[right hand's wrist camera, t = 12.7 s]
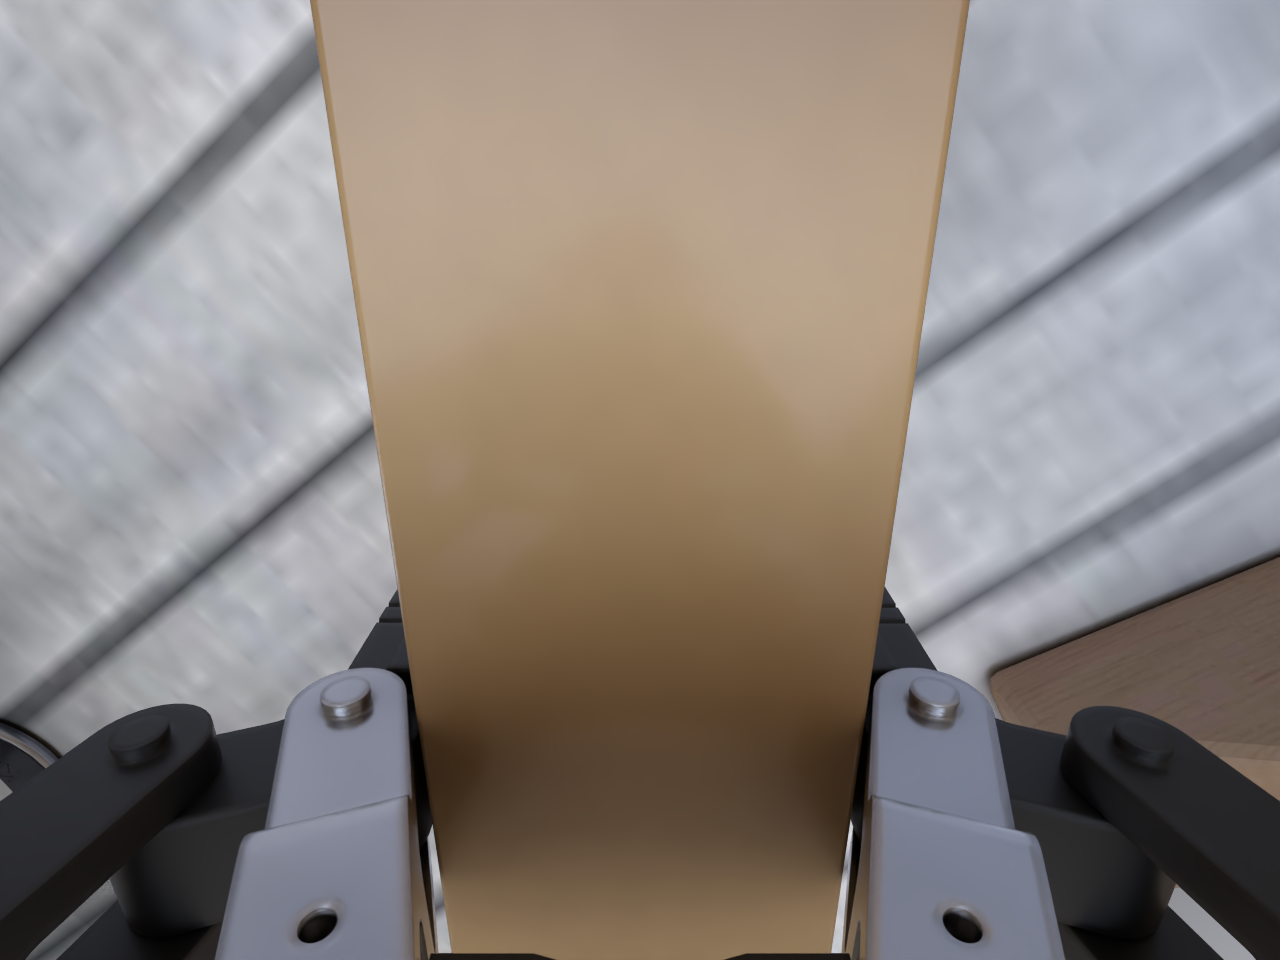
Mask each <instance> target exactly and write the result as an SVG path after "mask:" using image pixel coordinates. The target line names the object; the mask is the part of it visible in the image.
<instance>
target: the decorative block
mask: <svg viewBox="0 0 1280 960" xmlns="http://www.w3.org/2000/svg"><path fill="white" fill-rule="evenodd" d="M990 684H991V693H992V695H993V697H994V700H995V702H996V704H997V706H998V709H999V711H1000V713H1001V716H1002V718H1003V720H1004V721H1005V722H1008V723H1012V724H1016V725H1020V726H1025V727H1029V728H1034V729H1039V730H1043V731H1048V732H1052V733H1057V734H1062V735H1066V736H1067V733H1068V729H1069V726H1070V722H1071V720H1072V717H1073V716H1074V715H1075V714H1076V713H1077V712H1078V711H1080V710H1082V709H1085V708H1088V707H1093V706H1115V707H1122V708H1127V709H1131V710H1135V711H1138V712H1142V713H1145V714H1148V715H1150V716H1153V717H1156V718H1158V719H1160V720H1162V721H1164V722H1167V723H1168V724H1170V725H1172V726H1174V727H1176V728H1178V729H1179V730H1181V731H1182V732H1184V733H1185V734H1187V735H1188V736H1190V737H1191V738H1192V739H1194V740H1195V741H1197V742H1198V743H1199V744H1201V745H1202V746H1204V747H1205V748H1206V749H1208V750H1209V751H1211V752H1212V753H1213V754H1215V755H1216V756H1218V757H1219V758H1220V759H1222V760H1223V761H1225V762H1226V763H1227V764H1229V765H1230V766H1232V767H1233V768H1234V769H1236V770H1237V771H1238V772H1240V773H1241V774H1243V775H1244V776H1245V777H1247V778H1248V779H1250V780H1251V781H1252V782H1254V783H1255V784H1257V785H1258V786H1259V787H1261V788H1262V789H1264V790H1265V791H1266V792H1268V793H1269V794H1271V795H1272V796H1273V797H1275V798H1276V799H1278V800H1279V801H1280V557H1278V558H1276V559H1273V560H1271V561H1269V562H1266V563H1264V564H1261V565H1259V566H1256V567H1254V568H1251V569H1249V570H1246V571H1244V572H1242V573H1239V574H1237V575H1234V576H1232V577H1229V578H1227V579H1224V580H1222V581H1219V582H1217V583H1214V584H1212V585H1210V586H1207V587H1205V588H1202V589H1200V590H1197V591H1195V592H1192V593H1190V594H1187V595H1185V596H1182V597H1180V598H1178V599H1175V600H1173V601H1170V602H1168V603H1165V604H1163V605H1160V606H1158V607H1155V608H1153V609H1151V610H1148V611H1146V612H1143V613H1141V614H1138V615H1136V616H1133V617H1131V618H1128V619H1126V620H1123V621H1121V622H1119V623H1116V624H1114V625H1111V626H1109V627H1106V628H1104V629H1101V630H1099V631H1096V632H1094V633H1091V634H1089V635H1087V636H1084V637H1082V638H1079V639H1077V640H1074V641H1072V642H1069V643H1067V644H1064V645H1062V646H1060V647H1057V648H1055V649H1052V650H1050V651H1047V652H1045V653H1042V654H1040V655H1037V656H1035V657H1032V658H1030V659H1028V660H1025V661H1023V662H1020V663H1018V664H1015V665H1013V666H1010V667H1008V668H1005V669H1003V670H1001V671H998V672H997V673H995V674H994V675H993V676H992V677H991V683H990ZM1178 887H1179V886H1178V885H1177V884H1176V885H1175V888H1178Z"/></svg>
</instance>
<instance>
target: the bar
mask: <svg viewBox="0 0 1280 960" xmlns="http://www.w3.org/2000/svg"><path fill="white" fill-rule="evenodd" d="M310 3H311V10H312V16H313V23H314V30H315V36H316V43H317V50H318V57H319V63H320V70H321V77H322V84H323V90H324V97H325V104H326V110H327V117H328V124H329V131H330V137H331V144H332V151H333V157H334V164H335V171H336V178H337V184H338V191H339V198H340V204H341V211H342V218H343V225H344V231H345V238H346V245H347V252H348V258H349V265H350V272H351V278H352V285H353V292H354V299H355V305H356V312H357V319H358V325H359V332H360V339H361V346H362V352H363V359H364V366H365V373H366V379H367V386H368V393H369V399H370V406H371V413H372V420H373V426H374V433H375V440H376V446H377V453H378V460H379V467H380V473H381V480H382V487H383V493H384V500H385V507H386V514H387V520H388V527H389V534H390V541H391V547H392V554H393V561H394V567H395V574H396V581H397V588H398V594H399V601H400V608H401V614H402V621H403V628H404V635H405V641H406V648H407V655H408V661H409V668H410V675H411V682H412V688H413V695H414V702H415V709H416V715H417V722H418V729H419V735H420V742H421V749H422V756H423V762H424V769H425V776H426V782H427V789H428V796H429V803H430V809H431V816H432V823H433V830H434V836H435V843H436V850H437V856H438V863H439V870H440V877H441V883H442V890H443V897H444V903H445V910H446V917H447V924H448V930H449V937H450V944H451V950H452V953H534V954H538V955H541V956H545V957H549V958H552V959H556V960H724V959H728V958H731V957H735V956H739V955H742V954H746V953H831V950H832V943H833V936H834V929H835V922H836V915H837V908H838V901H839V895H840V888H841V881H842V874H843V867H844V860H845V853H846V847H847V840H848V833H849V826H850V819H851V812H852V805H853V799H854V792H855V785H856V778H857V771H858V764H859V757H860V751H861V744H862V737H863V730H864V723H865V716H866V709H867V702H868V696H869V689H870V682H871V675H872V668H873V661H874V654H875V648H876V641H877V634H878V627H879V620H880V613H881V606H882V600H883V593H884V586H885V579H886V572H887V565H888V558H889V552H890V545H891V538H892V531H893V524H894V517H895V510H896V503H897V497H898V490H899V483H900V476H901V469H902V462H903V455H904V449H905V442H906V435H907V428H908V421H909V414H910V407H911V401H912V394H913V387H914V380H915V373H916V366H917V359H918V352H919V346H920V339H921V332H922V325H923V318H924V311H925V304H926V298H927V291H928V284H929V277H930V270H931V263H932V256H933V250H934V243H935V236H936V229H937V222H938V215H939V208H940V202H941V195H942V188H943V181H944V174H945V167H946V160H947V153H948V147H949V140H950V133H951V126H952V119H953V112H954V105H955V99H956V92H957V85H958V78H959V71H960V64H961V57H962V51H963V44H964V37H965V30H966V23H967V16H968V9H969V3H970V0H310Z"/></svg>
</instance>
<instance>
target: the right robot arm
mask: <svg viewBox="0 0 1280 960" xmlns="http://www.w3.org/2000/svg"><path fill="white" fill-rule="evenodd" d="M851 821H852V824H853V831H852V838H851V845H850V851H849V864H848V877H847V890H846V903H845V916H844V929H843V942H842V953H746V954H742V955H739V956H735V957H731V958H728V959H724V960H1223V959H1222V958H1221V957H1220V956H1219V955H1218V954H1217V953H1216V952H1215V951H1214V950H1213V949H1212V948H1211V947H1210V946H1209V945H1208V944H1207V943H1206V942H1205V941H1204V940H1203V939H1202V938H1201V937H1200V936H1199V935H1198V934H1197V933H1196V932H1195V931H1194V930H1193V929H1191V928H1190V927H1189V926H1188V925H1187V924H1186V923H1185V922H1184V921H1183V920H1182V919H1181V918H1180V917H1179V916H1178V915H1177V914H1176V913H1175V912H1174V911H1173V910H1172V909H1171V908H1170V907H1169V906H1168V903H1169V900H1170V898H1171V895H1172V893H1173V890H1174V888H1175V885H1176V884H1177V885H1178V886H1179V887H1180V888H1181V889H1183V890H1184V891H1185V892H1186V893H1187V894H1188V895H1189V896H1190V897H1191V898H1192V899H1193V900H1194V901H1195V902H1196V903H1198V904H1199V905H1200V906H1201V907H1202V908H1203V909H1204V910H1205V911H1206V912H1207V913H1208V914H1209V915H1210V916H1212V917H1213V918H1214V919H1215V920H1216V921H1217V922H1218V923H1219V924H1220V925H1221V926H1222V927H1223V928H1224V929H1226V930H1227V931H1228V932H1229V933H1230V934H1231V935H1232V936H1233V937H1234V938H1235V939H1236V940H1237V941H1238V942H1240V943H1241V944H1242V945H1243V946H1244V947H1245V948H1246V949H1247V950H1248V951H1249V952H1250V953H1251V954H1252V955H1253V957H1254V958H1255V959H1256V960H1280V801H1279V800H1278V799H1276V798H1275V797H1273V796H1272V795H1271V794H1269V793H1268V792H1266V791H1265V790H1264V789H1262V788H1261V787H1259V786H1258V785H1257V784H1255V783H1254V782H1252V781H1251V780H1250V779H1248V778H1247V777H1245V776H1244V775H1243V774H1241V773H1240V772H1238V771H1237V770H1236V769H1234V768H1233V767H1232V766H1230V765H1229V764H1227V763H1226V762H1225V761H1223V760H1222V759H1220V758H1219V757H1218V756H1216V755H1215V754H1213V753H1212V752H1211V751H1209V750H1208V749H1206V748H1205V747H1204V746H1202V745H1201V744H1199V743H1198V742H1197V741H1195V740H1194V739H1192V738H1191V737H1190V736H1188V735H1187V734H1185V733H1184V732H1182V731H1181V730H1179V729H1178V728H1176V727H1174V726H1172V725H1170V724H1168V723H1167V722H1164V721H1162V720H1160V719H1158V718H1156V717H1153V716H1150V715H1148V714H1145V713H1142V712H1138V711H1135V710H1131V709H1127V708H1122V707H1115V706H1093V707H1088V708H1085V709H1082V710H1080V711H1078V712H1077V713H1076V714H1075V715H1074V716H1073V717H1072V720H1071V722H1070V726H1069V729H1068V733H1067V736H1066V735H1062V734H1057V733H1052V732H1048V731H1043V730H1039V729H1034V728H1029V727H1025V726H1020V725H1016V724H1012V723H1008V722H1005V721H1002V720H999V719H996V718H995V716H994V712H993V709H992V707H991V705H990V704H989V702H988V701H987V700H986V698H985V697H984V696H983V695H982V694H981V693H980V692H979V691H977V690H976V689H975V688H973V687H972V686H971V685H969V684H968V683H966V682H964V681H962V680H960V679H958V678H956V677H954V676H951V675H949V674H946V673H943V672H939V671H937V669H936V668H935V666H934V665H933V663H932V661H931V660H930V658H929V657H928V655H927V653H926V652H925V650H924V649H923V647H922V645H921V644H920V642H919V641H918V639H917V637H916V636H915V634H914V633H913V631H912V629H911V628H910V626H909V625H908V624H906V623H905V618H904V617H903V615H902V613H901V612H900V610H899V609H898V608H896V606H895V602H894V601H893V599H892V598H891V596H890V594H889V593H888V591H887V590H886V588H885V586H884V593H883V600H882V606H881V613H880V620H879V627H878V634H877V641H876V648H875V654H874V661H873V668H872V675H871V682H870V689H869V696H868V702H867V709H866V716H865V723H864V730H863V737H862V744H861V751H860V757H859V764H858V771H857V778H856V785H855V792H854V799H853V805H852V812H851ZM432 824H433V823H432V816H431V809H430V803H429V796H428V789H427V782H426V776H425V769H424V762H423V756H422V749H421V742H420V735H419V729H418V722H417V715H416V709H415V702H414V695H413V688H412V682H411V675H410V668H409V661H408V655H407V648H406V641H405V635H404V628H403V621H402V614H401V608H400V601H399V594H398V589H397V591H396V592H395V594H394V596H393V597H392V599H391V601H390V602H389V607H386V609H385V610H384V612H383V613H382V615H381V617H380V618H379V623H376V625H375V626H374V628H373V630H372V631H371V633H370V635H369V636H368V638H367V639H366V641H365V643H364V644H363V646H362V648H361V649H360V651H359V652H358V654H357V656H356V657H355V659H354V661H353V662H352V664H351V665H350V667H349V669H348V670H345V671H341V672H337V673H334V674H331V675H329V676H326V677H324V678H322V679H320V680H318V681H316V682H314V683H312V684H311V685H309V686H308V687H307V688H305V689H304V690H303V691H301V692H300V693H299V694H298V695H297V696H296V697H295V698H294V700H293V701H292V702H291V704H290V705H289V707H288V709H287V712H286V716H285V719H284V720H281V721H277V722H273V723H269V724H265V725H261V726H256V727H251V728H247V729H242V730H237V731H233V732H228V733H223V734H219V735H216V732H215V728H214V725H213V721H212V718H211V716H210V714H209V713H208V712H207V711H206V710H204V709H203V708H201V707H198V706H195V705H190V704H168V705H161V706H156V707H151V708H148V709H144V710H141V711H138V712H135V713H132V714H130V715H127V716H125V717H123V718H121V719H118V720H116V721H114V722H113V723H111V724H109V725H107V726H105V727H104V728H102V729H101V730H99V731H98V732H96V733H95V734H93V735H92V736H90V737H89V738H88V739H86V740H85V741H83V742H82V743H81V744H79V745H78V746H76V747H75V748H74V749H72V750H71V751H69V752H68V753H67V754H65V755H64V756H62V757H61V758H60V759H58V758H57V757H56V756H55V755H54V754H53V753H52V752H51V751H50V750H48V749H47V748H46V747H45V746H43V745H42V744H41V743H39V742H38V741H36V740H35V739H33V738H32V737H30V736H28V735H27V734H25V733H23V732H21V731H19V730H17V729H15V728H13V727H11V726H8V725H6V724H3V723H0V960H25V959H26V958H27V957H28V955H29V954H30V953H31V952H32V951H33V950H34V949H35V948H36V947H37V945H38V944H39V943H41V942H42V941H43V940H44V939H45V938H46V937H47V936H48V935H49V934H50V933H51V932H52V931H53V930H55V929H56V928H57V927H58V926H59V925H60V924H61V923H62V922H63V921H64V920H65V919H66V918H67V917H69V916H70V915H71V914H72V913H73V912H74V911H75V910H76V909H77V908H78V907H79V906H80V905H81V904H82V903H84V902H85V901H86V900H87V899H88V898H89V897H90V896H91V895H92V894H93V893H94V892H95V891H96V890H98V889H99V888H100V887H101V886H102V885H103V884H104V883H105V882H106V881H107V880H108V879H109V878H110V881H111V883H112V886H113V888H114V891H115V893H116V896H117V899H118V900H117V901H116V902H115V903H114V904H113V905H112V906H111V907H110V908H109V909H108V910H107V911H106V912H105V913H104V914H103V915H102V916H101V917H100V918H99V919H98V920H97V921H96V922H95V923H94V924H93V925H92V926H91V927H90V928H88V929H87V930H86V931H85V932H84V933H83V934H82V935H81V936H80V937H79V938H78V939H77V940H76V941H75V942H74V943H73V944H72V945H71V946H70V947H69V948H68V949H67V950H66V951H65V952H64V953H63V954H62V955H61V956H60V957H59V958H58V959H57V960H556V959H552V958H549V957H545V956H541V955H538V954H534V953H438V942H437V929H436V916H435V903H434V890H433V877H432V864H431V851H430V845H429V838H428V835H429V833H430V830H431V827H432Z"/></svg>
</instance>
